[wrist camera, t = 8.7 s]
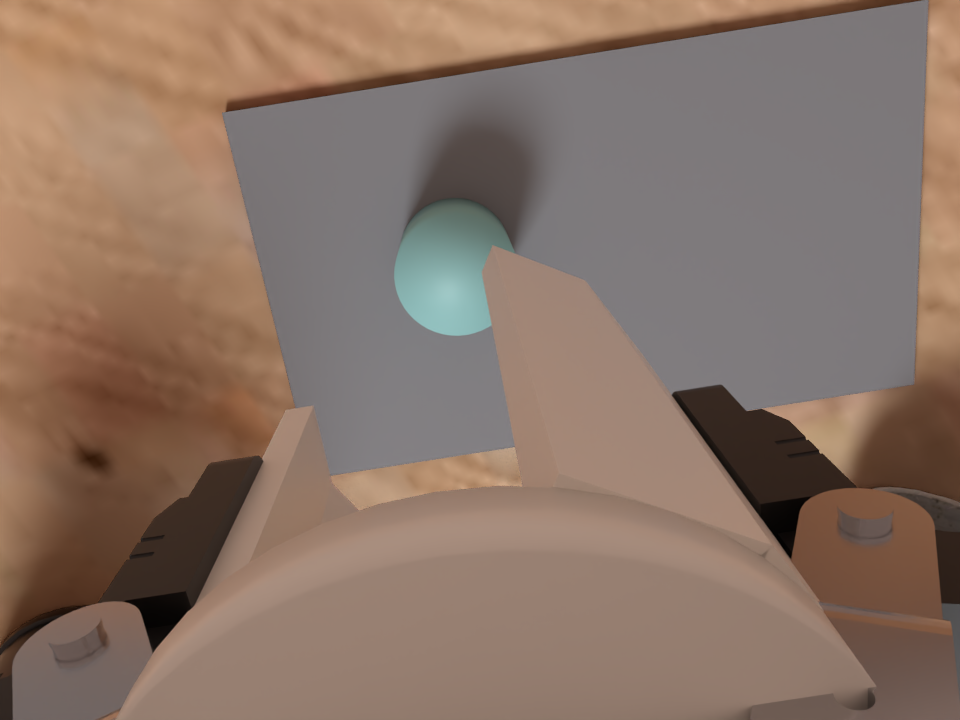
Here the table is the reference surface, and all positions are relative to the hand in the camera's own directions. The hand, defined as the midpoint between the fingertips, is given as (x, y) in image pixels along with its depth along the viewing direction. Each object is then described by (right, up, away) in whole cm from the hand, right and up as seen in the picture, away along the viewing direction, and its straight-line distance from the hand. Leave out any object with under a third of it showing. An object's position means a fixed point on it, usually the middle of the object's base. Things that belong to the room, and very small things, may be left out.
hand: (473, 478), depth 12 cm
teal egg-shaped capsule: (-1, +6, +16) cm, 17 cm away
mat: (+4, +6, +17) cm, 18 cm away
